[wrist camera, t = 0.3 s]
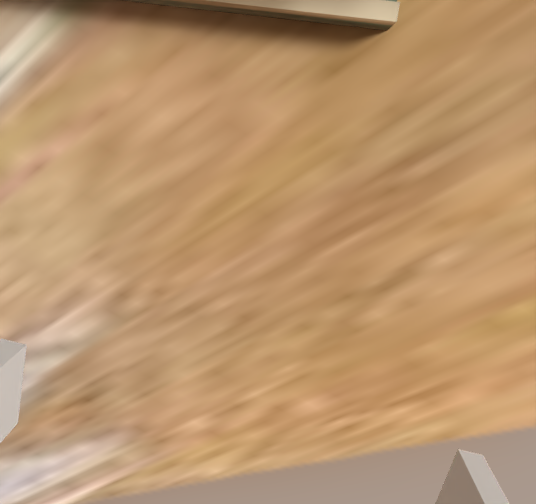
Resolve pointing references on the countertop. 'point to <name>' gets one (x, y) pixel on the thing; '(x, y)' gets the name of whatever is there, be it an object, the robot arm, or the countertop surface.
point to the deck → (303, 10)
